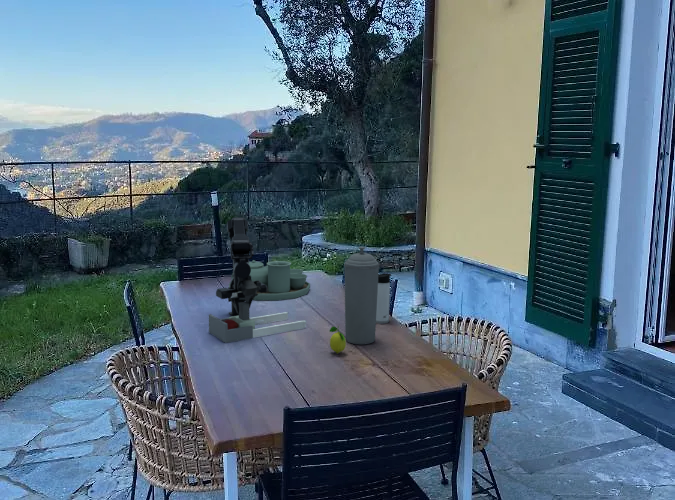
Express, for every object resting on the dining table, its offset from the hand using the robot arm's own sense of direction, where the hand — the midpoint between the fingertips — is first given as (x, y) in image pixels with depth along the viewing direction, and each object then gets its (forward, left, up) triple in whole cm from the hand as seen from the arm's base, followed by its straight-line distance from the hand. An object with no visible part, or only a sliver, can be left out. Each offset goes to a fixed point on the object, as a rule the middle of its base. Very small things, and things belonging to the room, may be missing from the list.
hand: (242, 312), depth 227 cm
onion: (-1, -1, -5) cm, 5 cm away
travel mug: (+16, +54, -8) cm, 57 cm away
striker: (0, +3, -8) cm, 8 cm away
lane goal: (0, +6, -8) cm, 10 cm away
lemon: (+38, +17, -8) cm, 43 cm away
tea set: (-55, +40, -9) cm, 68 cm away
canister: (+31, +32, -8) cm, 46 cm away
